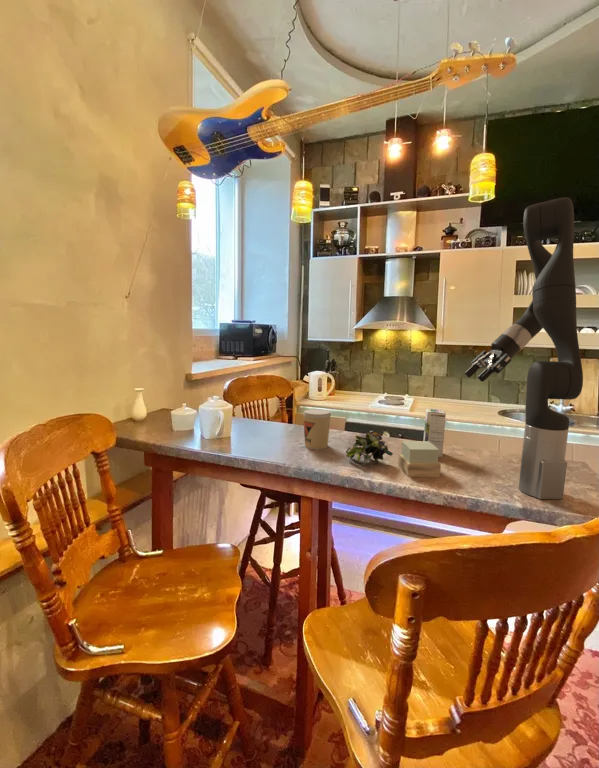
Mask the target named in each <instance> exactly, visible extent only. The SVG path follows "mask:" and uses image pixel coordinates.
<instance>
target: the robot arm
mask: <svg viewBox="0 0 599 768" xmlns="http://www.w3.org/2000/svg"><path fill="white" fill-rule="evenodd" d="M523 211H524V212H523V217H522V218H523V220H522V223H523V232H524V233H523V234H524V239H525V243H526V247H527V250H528V254H529V257H530V260H531V264H532V267H533V271H534V283H533V285H532V292H531V293H532V300H531V302H530V303H529V305H528V306H527V309H525V311H524V313H523V314H522V316H521V317H519V319H517V320H516V322H514V323H513V324H512V325H510V326H509V327H507V328H506V329H505V330H504V331H503V332H502V333H501V334H500V335H499V336H498V337H497V338H495V340H493V342H491V344H490V345H491V349H490V350H489V351H488V352H487V351H486V350H483V351H482V352H480V353H479V354H478V355H477V356H476V357H474V359H473V360H472V361H470V364H471V366H470V367H469V368H468V369H467V370H466V371H465V372H464V375H465V376H466V377H467V378H471V377H472V376H473V375H474V374H475V373H476V372H478V370H480V369H482V368H483V369H484V368H485V369H484V370H483V371H481V372H480V373H479V375H477V379H478V380H479V381H480V382H485V381H486V380H487V378H489V377H490V376H491V375H494V374H495V373H496V374H500V372H501V371H502V370H503V369H504V368H506V366H507V365H508V364H510V363H511V362H512V359H513V358H514V357H515V356H516V355H517V354H518V353H520V351H522V350H523V349H524V348H525V347H526V346H527V345H528V343H530V341H531V340H532V339H533V338H534V337H536V335H537V334H539V332H540V331H542V329H543V330H544V331H545V332H546V334H547V335H548V337H549V338H550V340H551V341H552V343H553V345H554V348H555V351H556V355H557V356H556V357H557V361H556V360H555V361H554V360H553V361H551V360H548V361H547V360H545V361H544V360H538V361H534V362H532V364H531V365H530V366H529V368H528V371H527V376H526V388H525V389H526V390H525V391H526V395H525V407H524V408H525V422H524V423H525V425H524V433H523V443H522V451H521V459H520V460H521V461H520V469H519V470H520V471H519V481H518V489H519V490H520V491H521V492H522V493H524V494H526V495H529V496H532V497H535V498H536V499H538V500H563V499H564V494H565V485H566V476H567V468H568V467H567V466H568V462H567V460H566V453H567V445H568V439H569V438H568V436H569V435H568V434H569V428H570V418H569V417H568V416H567V415H565V414H563V413H560V412H558V411H556V410H553V409H552V408H550V407H549V405H548V404H549V402H548V401H549V400H562V401H563V400H571V401H572V400H576V399H577V398H578V397H579V396H580V395H581V393H582V389H583V384H584V373H583V365H582V364H583V363H582V357H581V351H580V345H579V339H578V338H579V337H578V326H577V320H578V319H577V290H576V289H577V288H576V287H577V286H576V276H575V267H574V265H575V264H574V263H575V262H574V261H575V260H574V235H575V231H574V230H575V212H574V211H575V210H574V204H573V201H572V199H571V198H570V197H560V198H559V197H558V198H555V199H549V200H546V201H543V202H537V203H534V204H531V205H528V206H527V207H526V208H525V209H524V210H523ZM557 237H558V240H557V243H556V246H555V249H554V252H552V253H551V252H550V251H549V250H547V249H546V247H545V246H544V245H543V244H542V243H541V242H542V240H549V239H552V238H557Z"/></svg>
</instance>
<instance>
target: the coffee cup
mask: <svg viewBox="0 0 599 768" xmlns="http://www.w3.org/2000/svg"><path fill="white" fill-rule="evenodd" d="M302 415H303V432H304V433H303V435H304V446H305V447H306V448H307V449H311V450H323V449H326V448H328V446H329V445H328V444H329V435H330V434H329V433H330V427H331V425H330V424H331V416H332V413H331V411H330V410H329V409H323V408H322V409H321V408H311V409H310V408H309V409H308V408H307V409H305V410H304V411H303V413H302Z"/></svg>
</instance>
